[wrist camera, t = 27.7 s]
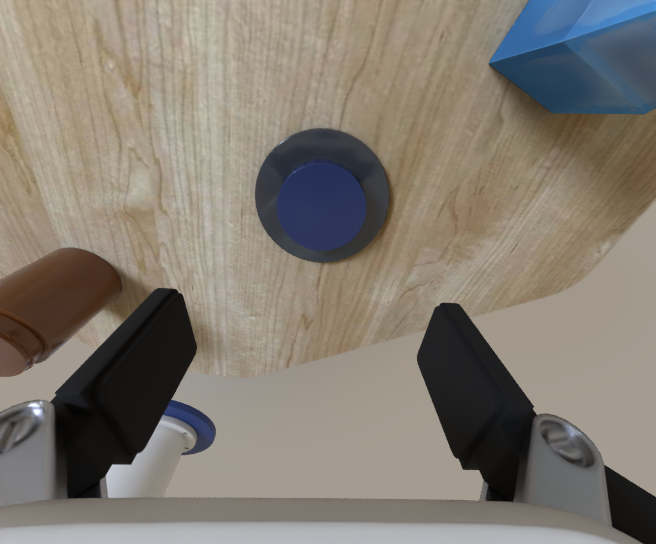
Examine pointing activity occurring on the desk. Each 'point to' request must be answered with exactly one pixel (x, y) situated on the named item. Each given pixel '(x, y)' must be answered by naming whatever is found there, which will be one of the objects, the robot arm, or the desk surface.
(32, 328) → the jar
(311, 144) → the coaster
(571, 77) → the perfume bottle
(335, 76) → the desk surface
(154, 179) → the desk surface
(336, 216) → the lid
